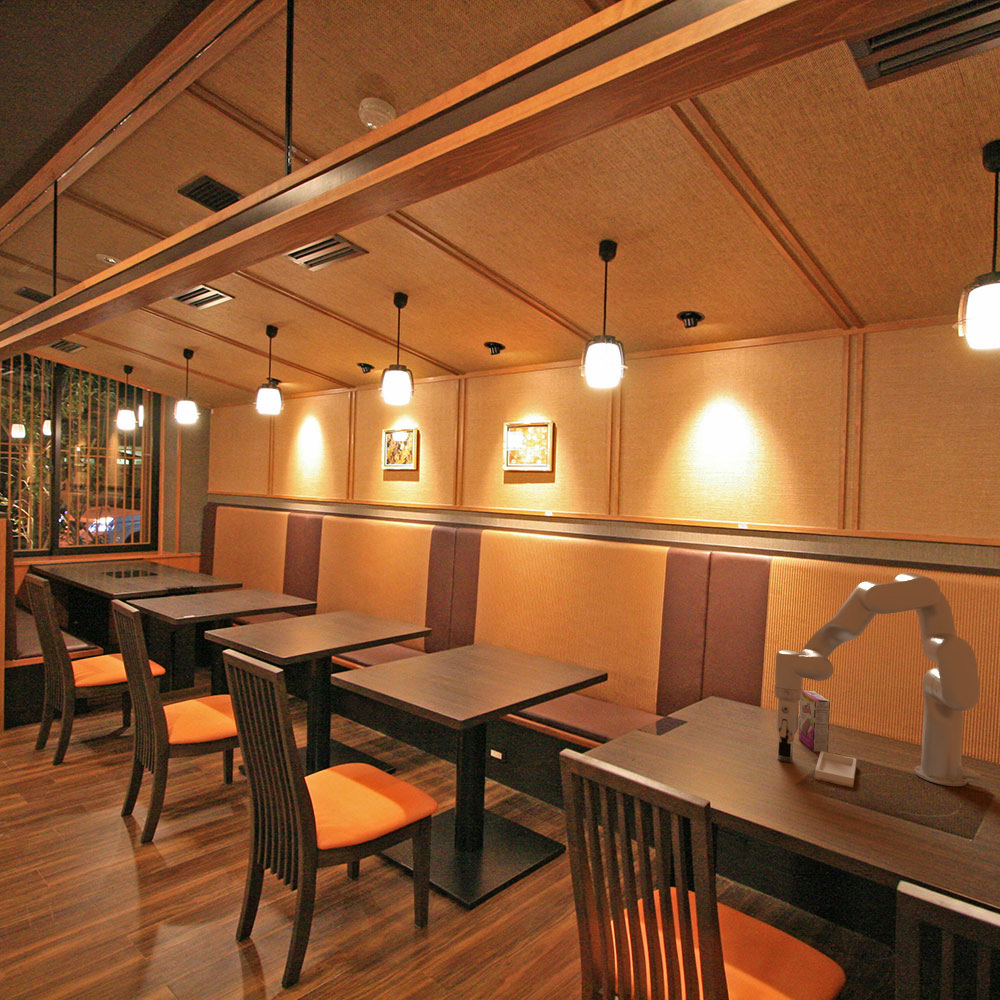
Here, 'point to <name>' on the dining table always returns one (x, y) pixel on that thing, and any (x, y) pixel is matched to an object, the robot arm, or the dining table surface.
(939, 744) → the robot arm
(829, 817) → the dining table surface
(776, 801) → the dining table surface
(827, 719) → the candy bar box
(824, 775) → the white rectangular tray
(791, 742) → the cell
